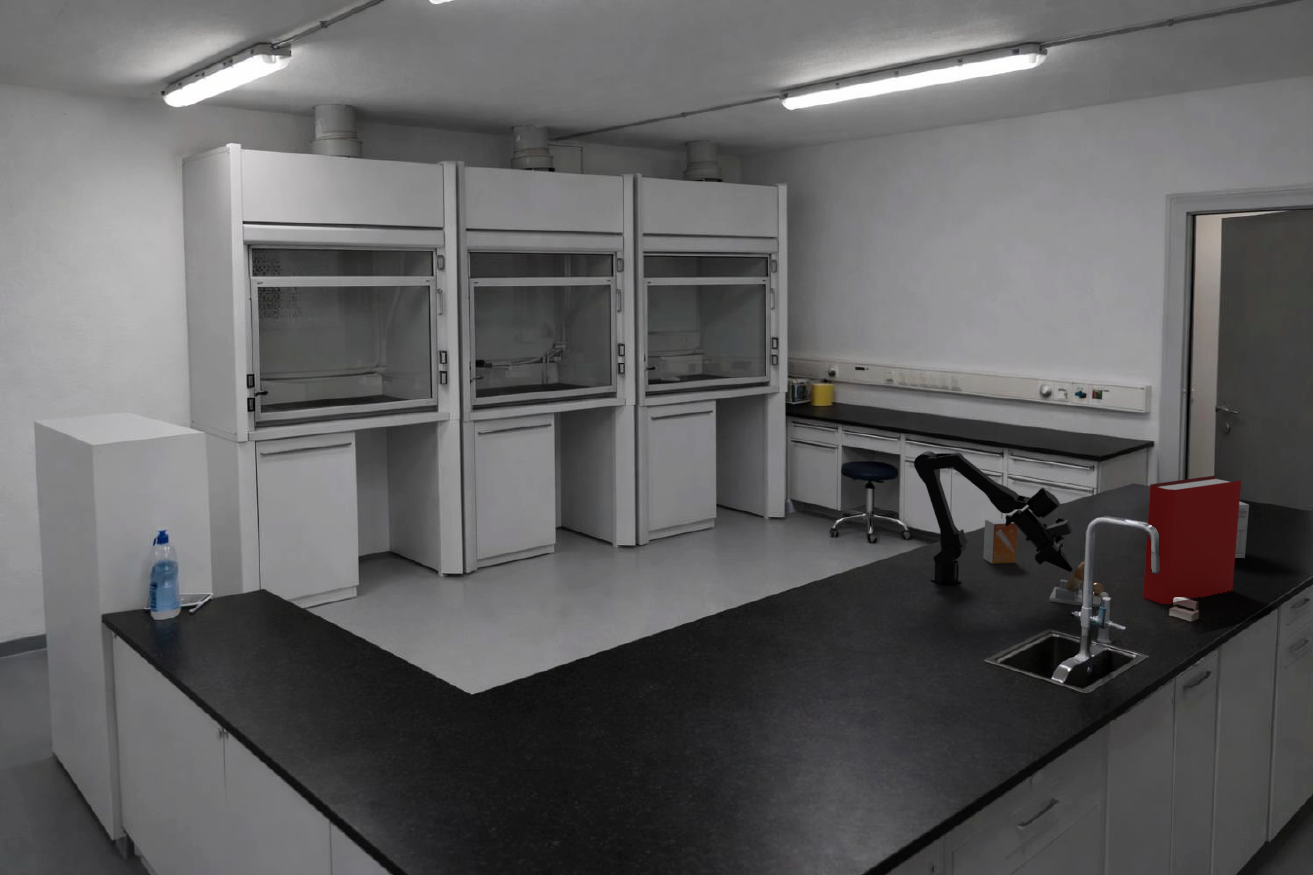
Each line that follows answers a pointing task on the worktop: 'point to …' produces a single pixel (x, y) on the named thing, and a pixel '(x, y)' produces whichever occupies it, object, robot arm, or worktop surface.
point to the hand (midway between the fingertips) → (1071, 570)
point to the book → (1192, 538)
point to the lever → (1076, 578)
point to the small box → (1000, 541)
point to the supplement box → (1242, 530)
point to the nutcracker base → (1076, 594)
